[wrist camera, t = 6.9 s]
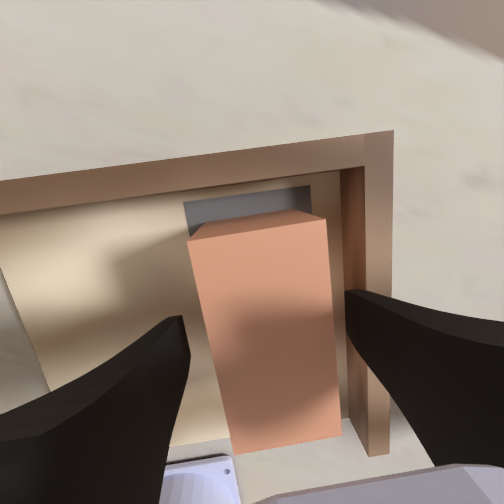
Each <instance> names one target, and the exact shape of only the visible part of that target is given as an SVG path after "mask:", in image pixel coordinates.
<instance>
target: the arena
mask: <svg viewBox="0 0 504 504" xmlns="http://www.w3.org/2000/svg"><path fill="white" fill-rule="evenodd" d="M393 144H394V130H391V131H383V132H375V133H367V134H360V135H352V136H344V137H336V138H329V139H321V140H313V141H306V142H298V143H290V144H282V145H275V146H267V147H259V148H251V149H244V150H236V151H228V152H220V153H213V154H205V155H197V156H189V157H182V158H174V159H166V160H159V161H151V162H143V163H135V164H128V165H120V166H112V167H104V168H97V169H89V170H81V171H73V172H66V173H58V174H50V175H42V176H35V177H27V178H19V179H11V180H4V181H0V268H1V270H2V273H3V275H4V278H5V280H6V283H7V285H8V288H9V290H10V293H11V295H12V297H13V300H14V302H15V305H16V307H17V310H18V312H19V315H20V317H21V320H22V322H23V325H24V327H25V329H26V332H27V334H28V337H29V339H30V342H31V344H32V347H33V349H34V352H35V354H36V356H37V359H38V361H39V364H40V366H41V369H42V371H43V374H44V376H45V379H46V381H47V384H48V386H49V388H50V391H51V392H52V391H54V390H56V389H57V388H59V387H61V386H63V385H65V384H67V383H69V382H71V381H73V380H75V379H77V378H79V377H80V376H82V375H84V374H86V373H87V372H89V371H91V370H93V369H94V368H96V367H98V366H99V365H101V364H102V363H104V362H106V361H107V360H109V359H110V358H112V357H113V356H115V355H116V354H118V353H119V352H120V351H122V350H123V349H125V348H126V347H128V346H129V345H130V344H132V343H133V342H135V341H136V340H137V339H139V338H140V337H141V336H143V335H144V334H145V333H146V332H148V331H149V330H150V329H152V328H153V327H154V326H156V325H157V324H158V323H160V322H161V321H162V320H164V319H166V318H167V317H171V316H178V315H182V316H183V320H184V325H185V329H186V334H187V338H188V343H189V348H190V352H191V361H190V369H189V375H188V380H187V383H186V387H185V390H184V394H183V398H182V401H181V405H180V408H179V412H178V415H177V418H176V422H175V425H174V429H173V433H172V437H171V441H170V445H169V447H173V446H179V445H185V444H192V443H198V442H204V441H210V440H216V439H222V438H228V437H230V434H229V429H228V425H227V420H226V416H225V411H224V407H223V402H222V398H221V394H220V389H219V385H218V380H217V376H216V371H215V367H214V362H213V358H212V353H211V349H210V344H209V340H208V335H207V331H206V326H205V322H204V317H203V313H202V308H201V304H200V299H199V295H198V290H197V286H196V282H195V277H194V273H193V268H192V264H191V259H190V255H189V250H188V246H187V241H188V240H189V239H190V237H191V236H192V235H193V234H194V233H195V232H196V231H197V230H198V229H199V228H200V227H201V226H202V225H203V224H204V223H205V222H209V221H216V220H222V219H228V218H234V217H241V216H247V215H253V214H260V213H266V212H272V211H279V210H285V209H291V208H292V209H295V210H298V211H302V212H305V213H308V214H311V215H314V216H318V217H321V218H324V219H326V226H327V239H328V253H329V266H330V279H331V293H332V306H333V319H334V333H335V346H336V359H337V372H338V386H339V399H340V412H341V419H344V418H349V419H350V421H351V423H352V425H353V427H354V429H355V431H356V433H357V435H358V437H359V439H360V441H361V443H362V445H363V447H364V449H365V451H366V453H367V455H368V457H372V456H378V455H384V454H389V439H390V394H389V393H388V391H387V390H386V389H385V388H384V386H383V385H382V384H381V382H380V381H379V380H378V378H377V377H376V376H375V375H374V373H373V372H372V371H371V369H370V368H369V367H368V365H367V364H366V363H365V361H364V360H363V359H362V357H361V356H360V355H359V353H358V352H357V351H356V349H355V347H354V346H353V344H352V342H351V340H350V339H349V337H348V335H347V333H346V327H345V302H344V291H345V290H352V289H362V290H367V291H370V292H374V293H377V294H381V295H384V296H387V297H390V298H391V291H392V218H393Z"/></svg>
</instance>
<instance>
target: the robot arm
mask: <svg viewBox="0 0 504 504" xmlns="http://www.w3.org/2000/svg"><path fill="white" fill-rule="evenodd" d="M344 302H345V327H346V333H347V335H348V337H349V339H350V340H351V342H352V344H353V346H354V347H355V349H356V351H357V352H358V353H359V355H360V356H361V357H362V359H363V360H364V361H365V363H366V364H367V365H368V367H369V368H370V369H371V371H372V372H373V373H374V375H375V376H376V377H377V378H378V380H379V381H380V382H381V384H382V385H383V386H384V388H385V389H386V390H387V391H388V393H389V394H390V395H391V397H392V398H393V400H394V401H395V402H396V404H397V405H398V407H399V408H400V410H401V411H402V413H403V415H404V416H405V418H406V419H407V421H408V422H409V424H410V426H411V427H412V429H413V430H414V432H415V434H416V435H417V437H418V439H419V440H420V442H421V444H422V445H423V447H424V449H425V450H426V452H427V454H428V455H429V457H430V459H431V460H432V462H433V464H434V465H435V467H432V468H426V469H421V470H415V471H409V472H403V473H398V474H392V475H386V476H380V477H375V478H369V479H363V480H357V481H352V482H346V483H340V484H335V485H329V486H323V487H317V488H312V489H306V490H300V491H294V492H289V493H283V494H277V495H274V496H271V497H269V498H266V499H263V500H261V501H258V502H255V503H253V504H504V322H501V321H494V320H487V319H480V318H473V317H467V316H462V315H457V314H452V313H447V312H442V311H438V310H433V309H429V308H425V307H422V306H418V305H414V304H410V303H407V302H404V301H400V300H397V299H394V298H390V297H387V296H384V295H381V294H377V293H374V292H370V291H367V290H362V289H352V290H345V291H344ZM190 361H191V352H190V348H189V343H188V338H187V334H186V329H185V325H184V320H183V316H182V315H178V316H171V317H167V318H166V319H164V320H162V321H161V322H160V323H158V324H157V325H156V326H154V327H153V328H152V329H150V330H149V331H148V332H146V333H145V334H144V335H143V336H141V337H140V338H139V339H137V340H136V341H135V342H133V343H132V344H130V345H129V346H128V347H126V348H125V349H123V350H122V351H120V352H119V353H118V354H116V355H115V356H113V357H112V358H110V359H109V360H107V361H106V362H104V363H102V364H101V365H99V366H98V367H96V368H94V369H93V370H91V371H89V372H87V373H86V374H84V375H82V376H80V377H79V378H77V379H75V380H73V381H71V382H69V383H67V384H65V385H63V386H61V387H59V388H57V389H56V390H54V391H52V392H50V393H48V394H46V395H44V396H41V397H39V398H37V399H35V400H33V401H31V402H28V403H26V404H24V405H22V406H19V407H17V408H15V409H13V410H10V411H8V412H6V413H3V414H1V415H0V504H241V501H240V496H239V490H238V485H237V480H236V475H235V470H234V465H233V460H232V458H231V457H230V456H220V457H214V458H208V459H202V460H196V461H190V462H184V463H178V464H172V465H166V461H167V456H168V450H169V445H170V441H171V437H172V433H173V429H174V425H175V422H176V418H177V415H178V412H179V408H180V405H181V401H182V398H183V394H184V390H185V387H186V383H187V380H188V375H189V369H190Z"/></svg>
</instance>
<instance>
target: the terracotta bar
mask: <svg viewBox="0 0 504 504" xmlns="http://www.w3.org/2000/svg"><path fill="white" fill-rule="evenodd" d="M187 246H188V250H189V255H190V259H191V264H192V268H193V273H194V277H195V282H196V286H197V290H198V295H199V299H200V304H201V308H202V313H203V317H204V322H205V326H206V331H207V335H208V340H209V344H210V349H211V353H212V358H213V362H214V367H215V371H216V376H217V380H218V385H219V389H220V394H221V398H222V402H223V407H224V411H225V416H226V420H227V425H228V429H229V434H230V438H231V443H232V447H233V452H234V455H238V454H244V453H249V452H255V451H260V450H266V449H271V448H276V447H282V446H287V445H293V444H298V443H304V442H309V441H315V440H320V439H326V438H331V437H337V436H342V426H341V412H340V399H339V386H338V372H337V359H336V346H335V333H334V319H333V306H332V293H331V279H330V266H329V253H328V239H327V226H326V219H324V218H321V217H318V216H314V215H311V214H308V213H305V212H302V211H298V210H295V209H292V208H291V209H285V210H279V211H272V212H266V213H260V214H253V215H247V216H241V217H234V218H228V219H222V220H216V221H209V222H205V223H204V224H203V225H202V226H201V227H200V228H199V229H198V230H197V231H196V232H195V233H194V234H193V235H192V236H191V237H190V239H189V240H188V241H187Z"/></svg>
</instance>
